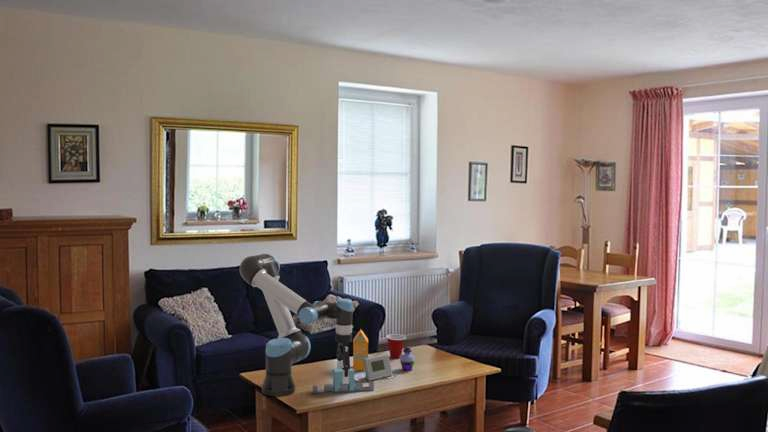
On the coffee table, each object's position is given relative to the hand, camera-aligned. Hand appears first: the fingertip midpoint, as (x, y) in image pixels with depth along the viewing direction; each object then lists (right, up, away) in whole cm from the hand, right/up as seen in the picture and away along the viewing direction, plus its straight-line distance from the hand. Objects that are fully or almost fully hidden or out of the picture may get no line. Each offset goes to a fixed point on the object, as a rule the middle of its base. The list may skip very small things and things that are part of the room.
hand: (342, 379), depth 310 cm
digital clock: (+16, -5, +23) cm, 29 cm away
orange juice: (+7, -4, +39) cm, 40 cm away
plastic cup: (+26, -3, +62) cm, 67 cm away
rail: (0, -6, 0) cm, 6 cm away
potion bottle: (+31, -5, +38) cm, 49 cm away
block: (0, -5, 0) cm, 5 cm away
